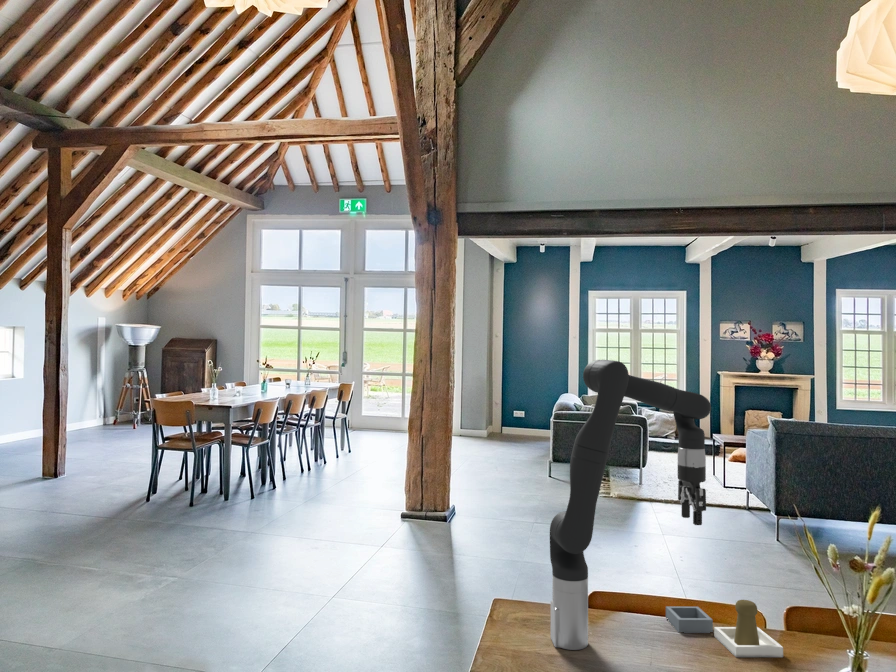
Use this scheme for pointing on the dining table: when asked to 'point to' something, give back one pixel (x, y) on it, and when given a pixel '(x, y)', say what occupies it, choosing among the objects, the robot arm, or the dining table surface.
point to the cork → (746, 623)
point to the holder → (689, 619)
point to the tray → (764, 649)
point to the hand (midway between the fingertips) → (691, 521)
